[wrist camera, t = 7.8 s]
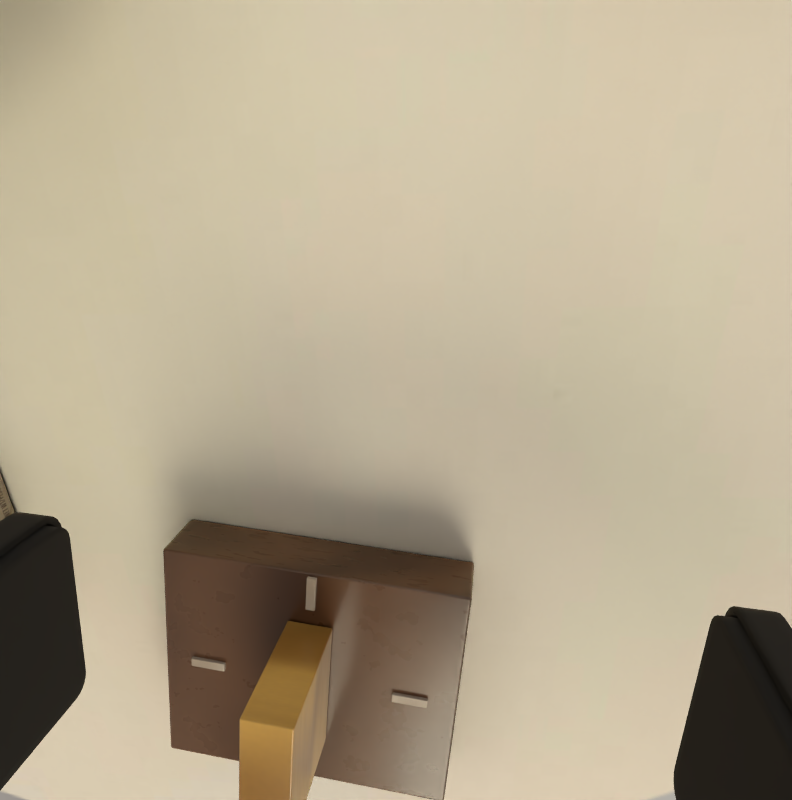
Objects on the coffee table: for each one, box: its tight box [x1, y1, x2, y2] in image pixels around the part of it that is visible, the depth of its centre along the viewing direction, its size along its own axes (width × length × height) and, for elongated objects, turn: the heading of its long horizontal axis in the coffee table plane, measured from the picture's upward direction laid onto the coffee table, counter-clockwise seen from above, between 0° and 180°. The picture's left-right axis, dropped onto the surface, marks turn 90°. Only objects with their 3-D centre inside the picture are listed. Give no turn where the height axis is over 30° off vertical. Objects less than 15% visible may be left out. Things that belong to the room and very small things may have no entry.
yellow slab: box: [239, 621, 332, 800], centre depth 24 cm, size 6×2×5 cm, turn 175°
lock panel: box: [163, 520, 474, 800], centre depth 27 cm, size 12×10×3 cm
